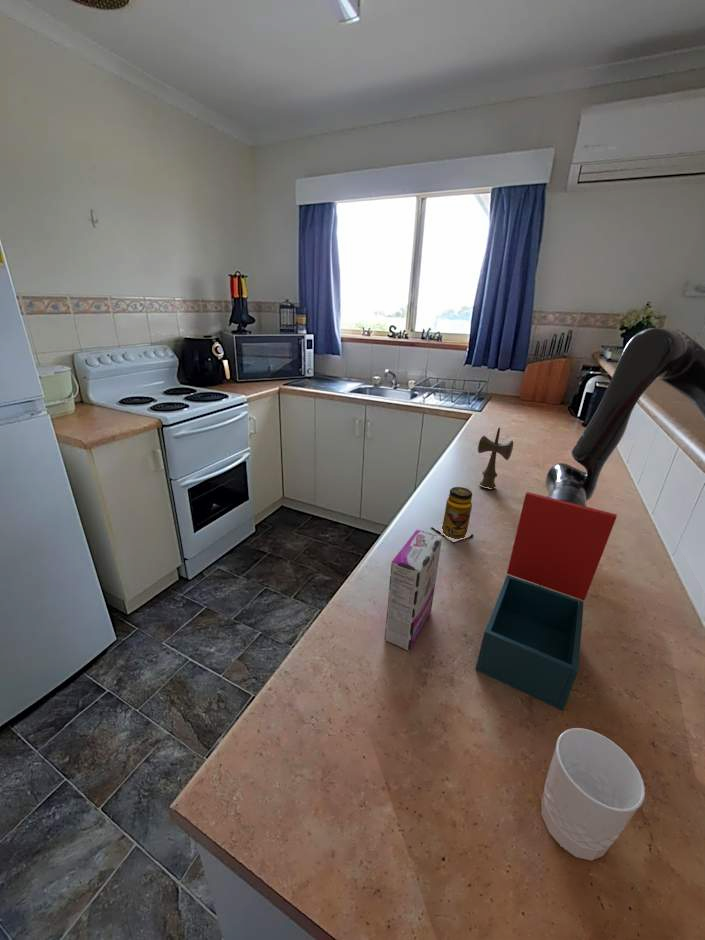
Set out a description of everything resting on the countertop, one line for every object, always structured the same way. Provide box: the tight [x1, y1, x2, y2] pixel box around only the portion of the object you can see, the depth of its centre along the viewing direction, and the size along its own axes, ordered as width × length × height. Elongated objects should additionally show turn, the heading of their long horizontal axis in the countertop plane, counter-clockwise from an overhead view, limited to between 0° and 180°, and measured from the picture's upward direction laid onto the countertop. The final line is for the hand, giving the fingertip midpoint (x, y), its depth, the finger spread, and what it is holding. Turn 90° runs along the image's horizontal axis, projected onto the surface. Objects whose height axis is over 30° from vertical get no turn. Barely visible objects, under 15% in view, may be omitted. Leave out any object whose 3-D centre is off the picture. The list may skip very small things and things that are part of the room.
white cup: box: [540, 727, 646, 862], centre depth 42 cm, size 8×8×10 cm
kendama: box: [477, 427, 514, 488], centre depth 123 cm, size 6×10×20 cm, turn 58°
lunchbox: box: [475, 574, 585, 711], centre depth 65 cm, size 17×13×8 cm
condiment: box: [442, 486, 473, 539], centre depth 98 cm, size 7×8×12 cm
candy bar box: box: [384, 529, 443, 652], centre depth 67 cm, size 11×5×16 cm, turn 151°
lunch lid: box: [506, 491, 618, 601], centre depth 65 cm, size 17×13×1 cm
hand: (555, 548), depth 66 cm, fingers closed
